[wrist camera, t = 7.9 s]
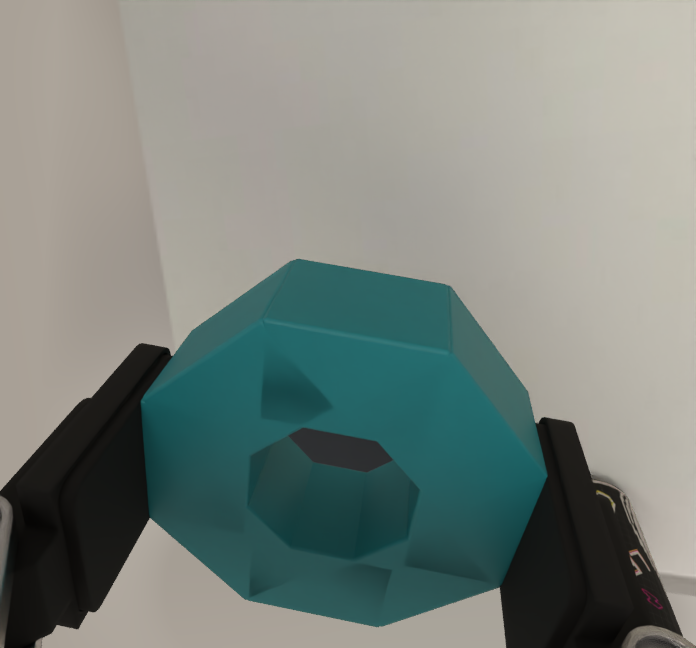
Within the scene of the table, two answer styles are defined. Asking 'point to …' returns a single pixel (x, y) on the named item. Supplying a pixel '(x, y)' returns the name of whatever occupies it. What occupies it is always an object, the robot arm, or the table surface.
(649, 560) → the beverage can
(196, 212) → the table surface
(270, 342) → the ring
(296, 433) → the mat
